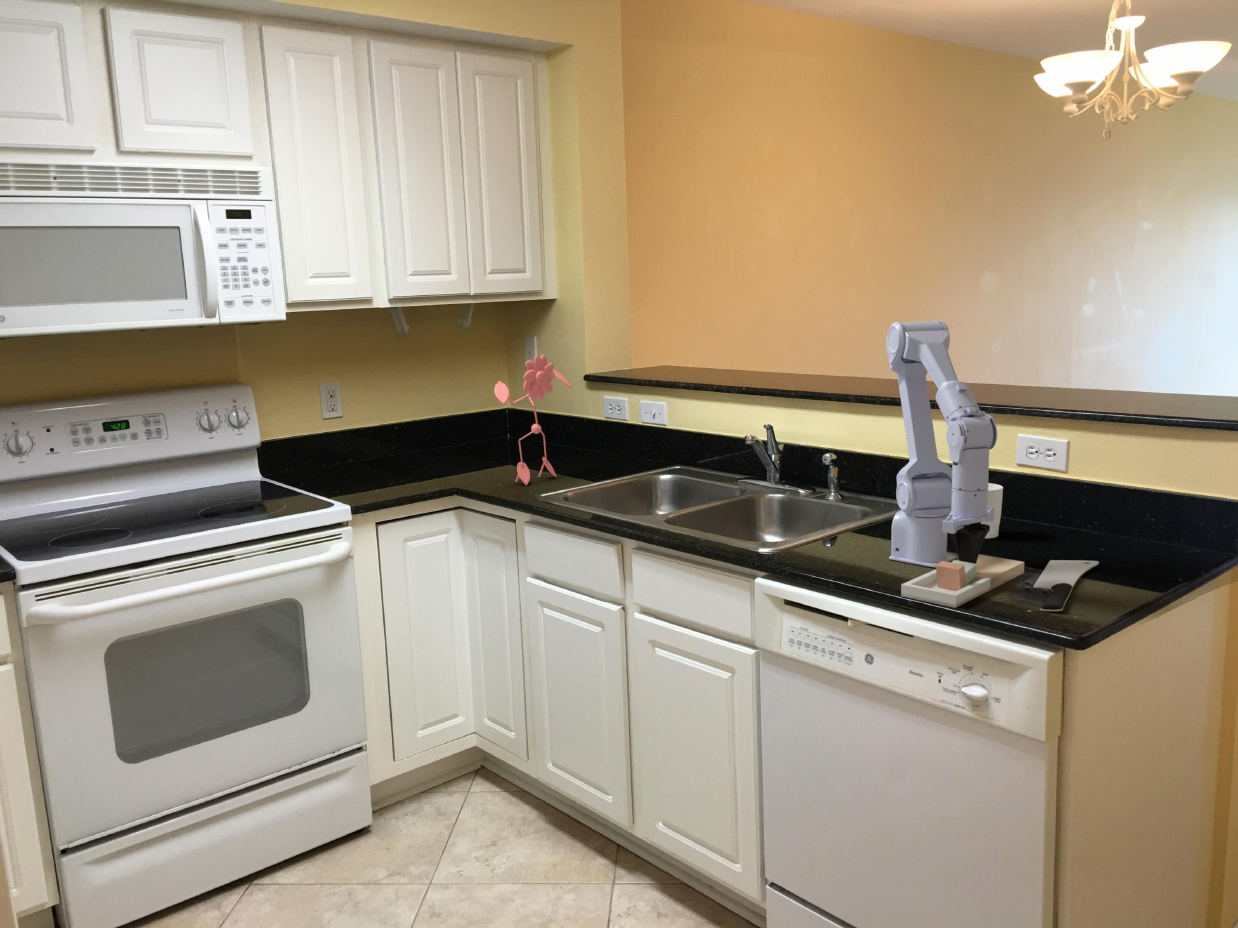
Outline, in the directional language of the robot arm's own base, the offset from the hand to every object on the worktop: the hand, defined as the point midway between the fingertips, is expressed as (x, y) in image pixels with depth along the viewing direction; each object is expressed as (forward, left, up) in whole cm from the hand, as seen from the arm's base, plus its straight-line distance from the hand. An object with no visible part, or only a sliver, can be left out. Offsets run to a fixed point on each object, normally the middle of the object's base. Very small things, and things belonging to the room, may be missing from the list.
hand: (967, 566), depth 168 cm
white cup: (-14, +33, -3) cm, 36 cm away
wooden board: (0, +5, -3) cm, 6 cm away
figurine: (-130, +17, -3) cm, 132 cm away
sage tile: (0, -3, -1) cm, 3 cm away
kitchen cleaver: (+11, +8, -4) cm, 14 cm away
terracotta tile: (0, -5, 0) cm, 5 cm away
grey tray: (0, -7, -3) cm, 8 cm away
